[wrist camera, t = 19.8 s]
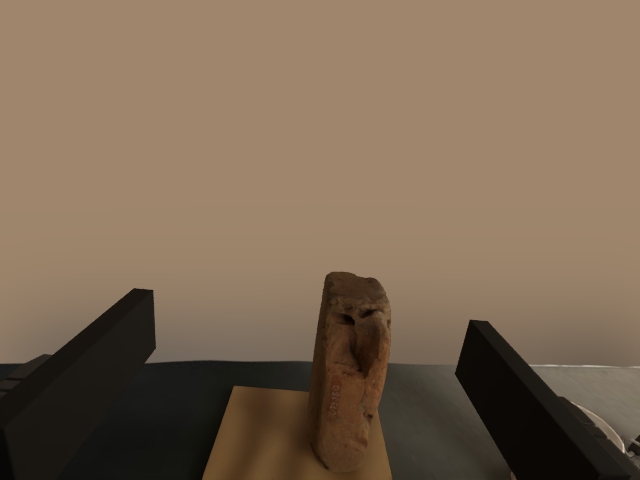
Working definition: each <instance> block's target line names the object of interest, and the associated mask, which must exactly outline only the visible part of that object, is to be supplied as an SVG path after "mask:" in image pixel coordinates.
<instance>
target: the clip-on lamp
mask: <svg viewBox="0 0 640 480" xmlns="http://www.w3.org/2000/svg"><path fill="white" fill-rule="evenodd" d="M620 439H621V441H622V443H623V445H624V440H625V439H627V440H630V441H632V442H633V443H632V444H631V445H630V446H629V447H628V450H629V451H630V452H629V453H627V452H626V450H625V452H624V453H625V454H626V455H628V456H629V457H632V456H634V455H637V456H639V455H640V435H639V436H638V437H637V438H636V439H635V440H634V439H632V438H630V437H627V436H622V437H620ZM624 449H625V447H624Z"/></svg>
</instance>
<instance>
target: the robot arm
mask: <svg viewBox="0 0 640 480" xmlns="http://www.w3.org/2000/svg"><path fill="white" fill-rule="evenodd" d="M153 299H154V297H153V290H146V289H136V288H134V289H133V290H131V291H130V292H129V293H128V294H126V295H125V296H124V297H123V298H122V299H120V300H119V301H118V302H117V303H115V304H114V305H113V306H112V307H111V308H109V309H108V310H107V311H106V312H105V313H103V314H102V315H101V316H100V317H98V318H97V319H96V320H95V321H94V322H92V323H91V324H90V325H89V326H88V327H87V328H85V329H84V330H83V331H81V332H80V333H79V334H78V335H77V336H75V337H74V338H73V339H72V340H71V341H69V342H68V343H67V344H66V345H64V346H63V347H62V348H61V349H60V350H58V351H57V352H56V353H55V354H53V355H47V354H43V355H41V356H39V357H37V358H35V359H33V360H31V361H29V362H27V363H25V364H23V365H21V366H20V367H19V368H17V369H16V370H15V371H14V372H12V373H11V374H10V375H8V376H7V377H6V379H5V380H2V381H1V382H0V480H55V479H56V478H57V477H58V475H59V474H60V473H61V471H62V470H63V469H64V468H65V466H66V465H67V464H68V462H69V461H70V460H71V458H72V457H73V456H74V455H75V453H76V452H77V451H78V449H79V448H80V447H81V445H82V444H83V443H84V441H85V440H86V439H87V438H88V436H89V435H90V434H91V432H92V431H93V430H94V428H95V427H96V426H97V424H98V423H99V422H100V421H101V419H102V418H103V417H104V415H105V414H106V413H107V411H108V410H109V409H110V407H111V406H112V405H113V404H114V402H115V401H116V400H117V398H118V397H119V396H120V394H121V393H122V392H123V390H124V389H125V388H126V387H127V385H128V384H129V383H130V381H131V380H132V379H133V377H134V376H135V375H136V374H137V372H138V371H139V370H140V368H141V367H142V366H143V364H144V363H145V362H146V360H147V359H148V358H149V357H150V355H151V354H152V353H153V351H154V350H155V349H156V342H155V319H154V300H153ZM455 375H456V377H457V378H458V380H459V382H460V384H461V385H462V387H463V389H464V390H465V392H466V394H467V396H468V397H469V399H470V401H471V402H472V404H473V406H474V408H475V409H476V411H477V413H478V414H479V416H480V418H481V419H482V421H483V423H484V425H485V426H486V428H487V430H488V431H489V433H490V435H491V437H492V438H493V440H494V442H495V443H496V445H497V447H498V449H499V450H500V452H501V454H502V455H503V457H504V459H505V460H506V462H507V464H508V466H509V467H510V469H511V471H512V472H513V474H514V476H515V478H516V479H517V480H640V469H639V468H638V467H637V466H636V465H635V464H634V463H633V462H632V461H631V460H630V459H629V458H628V457H627V456H626V455H625V454H624V453H623V452H622V451H621V450H620V449H619V448H618V447H617V446H616V445H615V444H614V443H613V442H612V441H611V440H610V439H608V438H607V435H606V434H605V433H604V432H603V431H602V430H601V429H600V428H599V427H596V425H595V423H594V422H593V421H592V420H591V419H590V418H589V417H588V416H587V415H586V414H585V413H584V412H583V411H582V410H581V409H580V408H578V407H577V406H576V405H574V404H573V403H571V402H570V401H569V400H567V399H566V398H564V397H558V396H557V395H556V394H555V393H554V392H553V391H552V390H551V389H550V388H549V387H548V385H547V384H546V383H545V382H544V381H543V380H542V379H541V378H540V377H539V376H538V375H537V374H536V373H535V372H534V370H533V369H532V368H531V367H530V366H529V365H528V364H527V363H526V362H525V361H524V360H523V359H522V358H521V357H520V355H519V354H518V353H517V352H516V351H515V350H514V349H513V348H512V347H511V346H510V345H509V344H508V343H507V342H506V340H505V339H504V338H503V337H502V336H501V335H500V334H499V333H498V332H497V331H496V330H495V329H494V328H493V327H492V325H491V324H490V323H489V322H488V321H479V320H470V321H469V325H468V328H467V332H466V336H465V339H464V343H463V347H462V350H461V354H460V357H459V361H458V365H457V368H456V372H455Z"/></svg>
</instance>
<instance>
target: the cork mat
mask: <svg viewBox="0 0 640 480" xmlns="http://www.w3.org/2000/svg"><path fill="white" fill-rule="evenodd" d="M308 400H309V392H302V391H290V390H278V389H266V388H254V387H242V386H234V388H233V391H232V394H231V397H230V399H229V402H228V405H227V408H226V411H225V414H224V417H223V420H222V423H221V426H220V428H219V431H218V434H217V437H216V440H215V443H214V446H213V449H212V452H211V455H210V457H209V460H208V463H207V466H206V469H205V472H204V475H203V478H202V480H392V476H391V471H390V467H389V462H388V457H387V453H386V448H385V443H384V439H383V434H382V430H381V425H380V420H379V416H378V411H377V409H376V413H375V415H374V417H373V419H372V422H371V425H370V429H369V443H368V447H367V451H366V454H365V458H364V460H363V462H362V464H361V466H360V468H358V469H356V470H354V471H351V472H341V473H338V472H331V471H328V470H326V469H325V468H324V465H323V464H322V463H320V462H319V461H318V460H317V459H316V457H315V456H314V454H313V451H312V449H311V447H310V444H309V438H308V436H307V412H308Z"/></svg>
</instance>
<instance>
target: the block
mask: <svg viewBox="0 0 640 480" xmlns="http://www.w3.org/2000/svg"><path fill="white" fill-rule="evenodd" d="M390 326H391V309H390V304H389V301H388V298H387V296H386V292H385V291H384V289H383V287H382V286H381V284H380V283H379V282H378V281H377V280H376V279H374V278H363V277H358V276H356V275H355V274H352V273H349V272H331V273H330V274H328V275H327V276H326V278H325V282H324V289H323V295H322V303H321V308H320V314H319V321H318V327H317V334H316V342H315V349H314V357H313V364H312V373H311V382H310V390H309V400H308V412H307V436H308V438H309V444H310V447H311V449H312V451H313V454H314V456H315V457H316V459H317V460H318V461H319V462H320V463H322V464H323V465H324V468H325V469H326V470H328V471H331V472H338V473H341V472H351V471H354V470H356V469H358V468H360V466H361V464H362V462H363V460H364V458H365V454H366V451H367V447H368V443H369V429H370V425H371V422H372V419H373V417H374V415H375V413H376V409H377V408H378V405H379V402H380V398H381V394H382V390H383V387H384V382H385V378H386V372H387V365H388V359H389V352H390V343H391V328H390Z"/></svg>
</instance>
